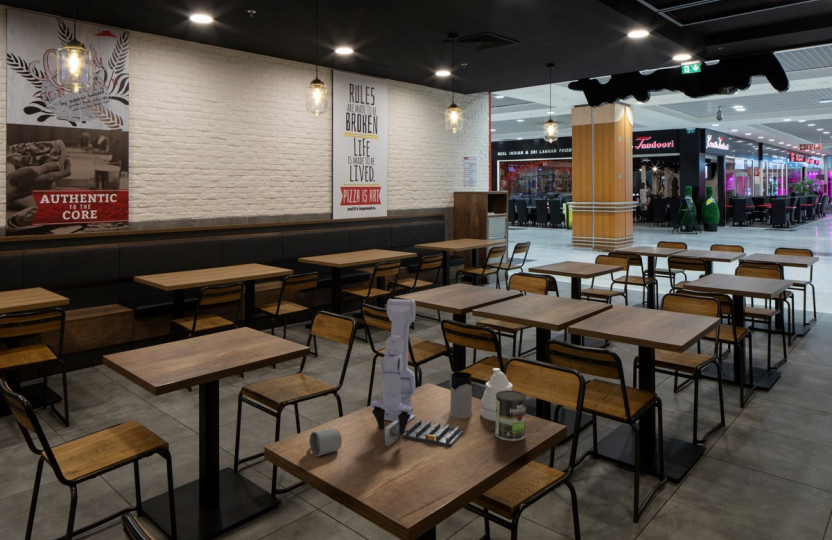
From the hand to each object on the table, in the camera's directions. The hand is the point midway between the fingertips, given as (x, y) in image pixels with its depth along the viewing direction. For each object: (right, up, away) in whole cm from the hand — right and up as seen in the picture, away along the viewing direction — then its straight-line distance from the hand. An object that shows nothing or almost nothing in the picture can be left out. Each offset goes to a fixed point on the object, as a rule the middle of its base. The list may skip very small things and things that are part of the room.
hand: (391, 431), depth 190 cm
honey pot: (+39, -1, +24) cm, 46 cm away
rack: (+14, -3, +6) cm, 15 cm away
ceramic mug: (-22, -5, -7) cm, 23 cm away
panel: (0, -4, +1) cm, 4 cm away
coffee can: (+40, -3, +6) cm, 41 cm away
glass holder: (+24, 0, +28) cm, 36 cm away
